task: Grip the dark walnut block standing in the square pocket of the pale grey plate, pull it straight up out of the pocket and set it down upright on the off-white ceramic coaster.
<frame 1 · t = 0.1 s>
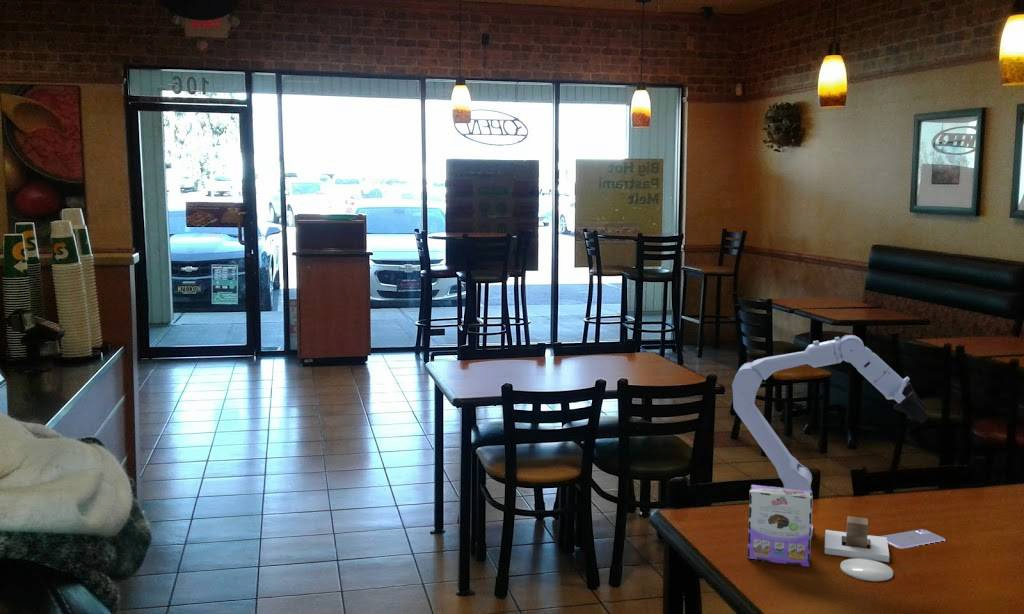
hand: (924, 416, 214), 32 cm above the table, tool tilted 50°, fingers open, 7 cm apart
walnut block: (856, 534, 216), in the pocket plate
mobile phone: (911, 541, 222), on the table
pocket plate: (855, 548, 216), on the table
candy box: (778, 559, 210), on the table
ceramic coaster: (866, 570, 203), on the table
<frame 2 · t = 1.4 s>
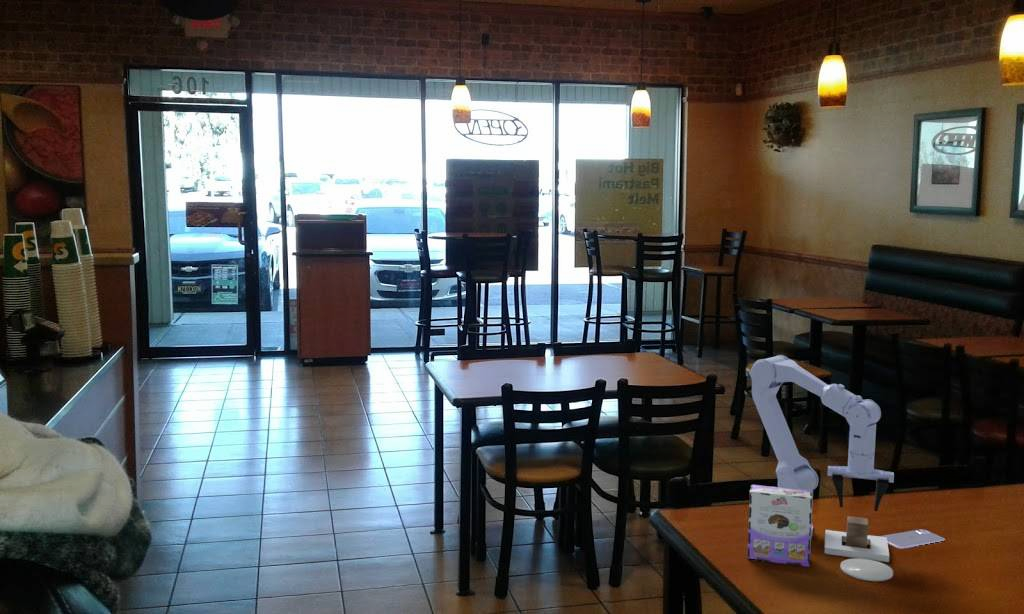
hand: (858, 507, 215), 10 cm above the table, tool pointing down, fingers open, 7 cm apart
nothing on the table moved.
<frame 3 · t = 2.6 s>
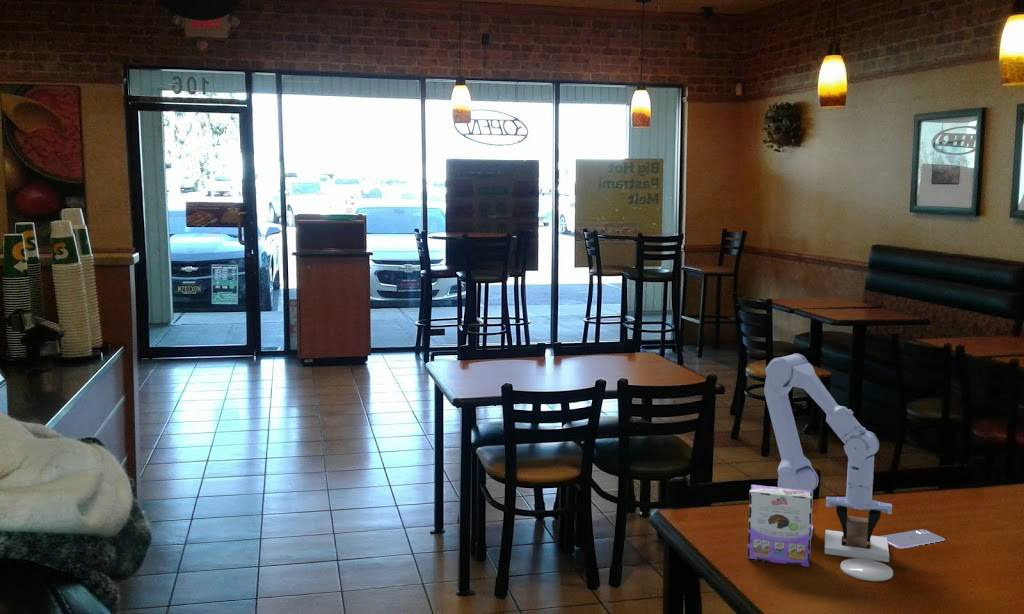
hand: (856, 538, 216), 2 cm above the table, tool pointing down, fingers closed on walnut block, 4 cm apart
walnut block: (856, 534, 216), in the pocket plate, touching gripper
everything else where it was.
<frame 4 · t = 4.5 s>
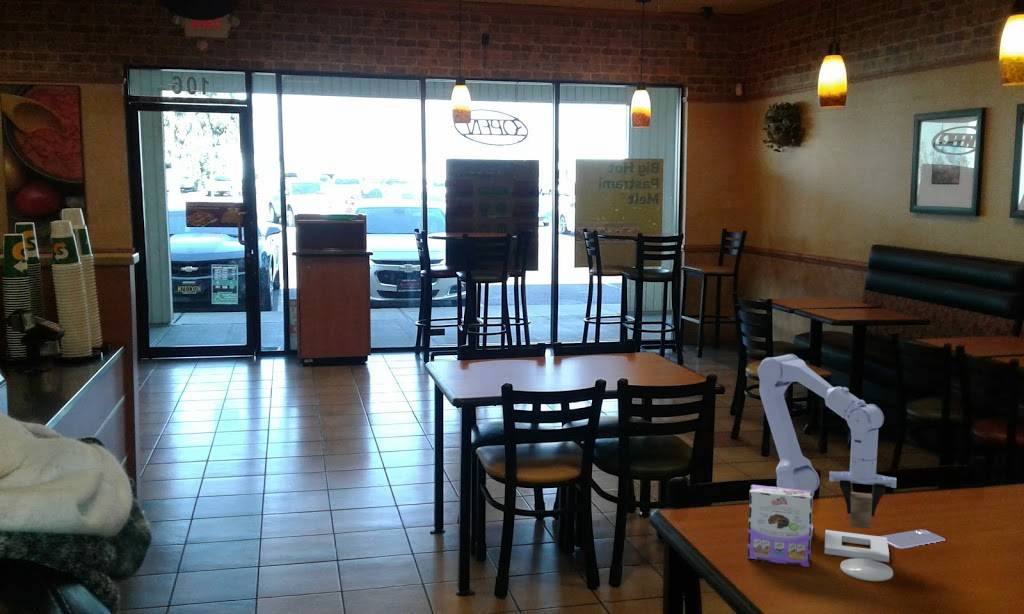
hand: (860, 513, 213), 9 cm above the table, tool pointing down, fingers closed on walnut block, 4 cm apart
walnut block: (860, 510, 213), point 10 cm above the table, touching gripper
everything else where it was.
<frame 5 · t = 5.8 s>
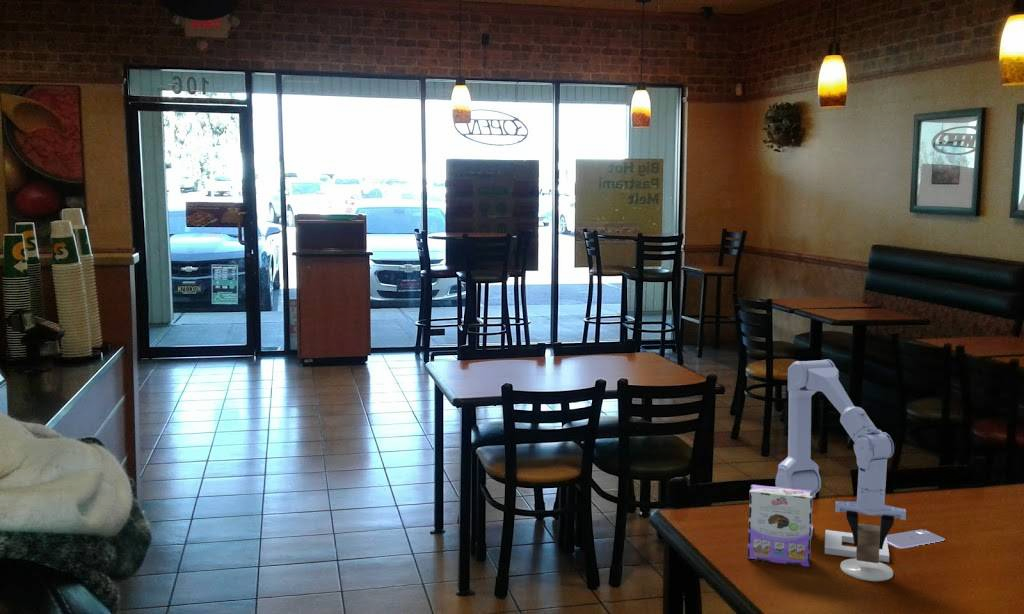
hand: (868, 546, 203), 6 cm above the table, tool pointing down, fingers closed on walnut block, 4 cm apart
walnut block: (868, 543, 203), point 6 cm above the table, touching gripper
everything else where it was.
when the fingers open (4 cm above the table, at t = 6.6 s): walnut block stays where it is, resting on ceramic coaster.
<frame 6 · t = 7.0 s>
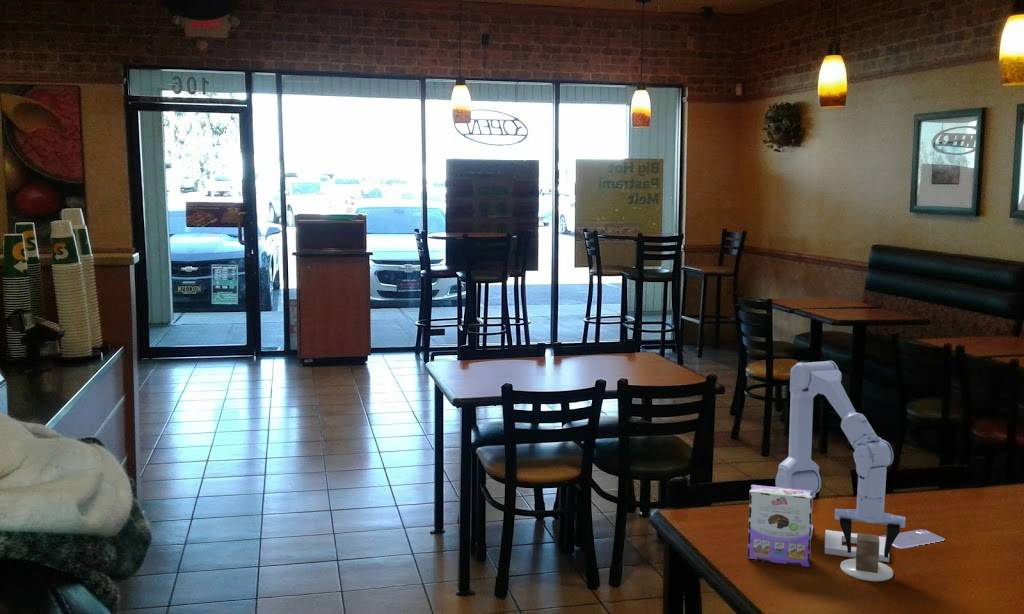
hand: (867, 553, 203), 4 cm above the table, tool pointing down, fingers open, 7 cm apart
walnut block: (867, 552, 203), on the ceramic coaster, point 4 cm above the table
everything else where it was.
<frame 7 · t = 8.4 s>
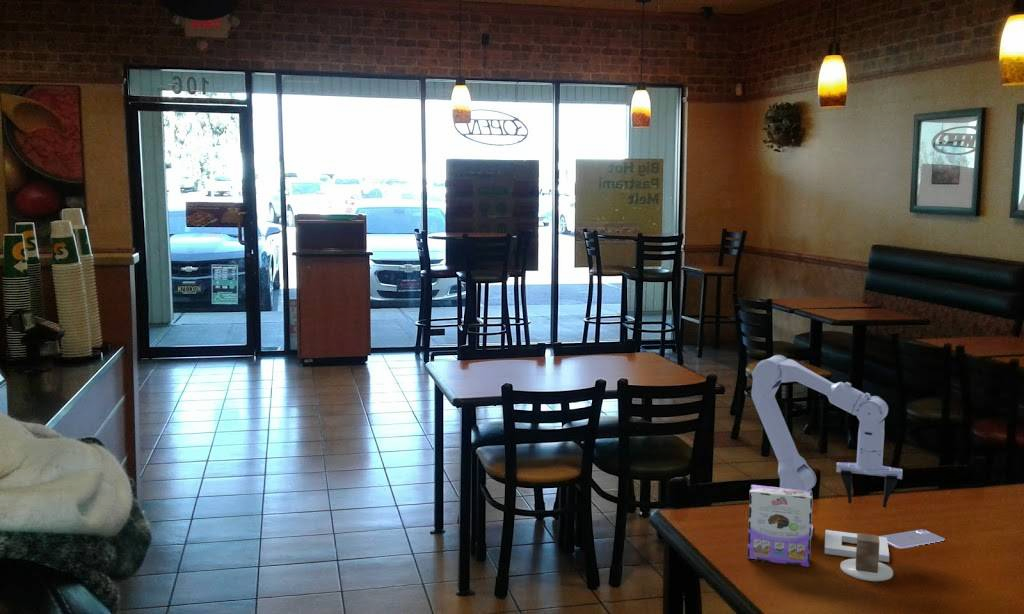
hand: (866, 504, 217), 10 cm above the table, tool pointing down, fingers open, 7 cm apart
nothing on the table moved.
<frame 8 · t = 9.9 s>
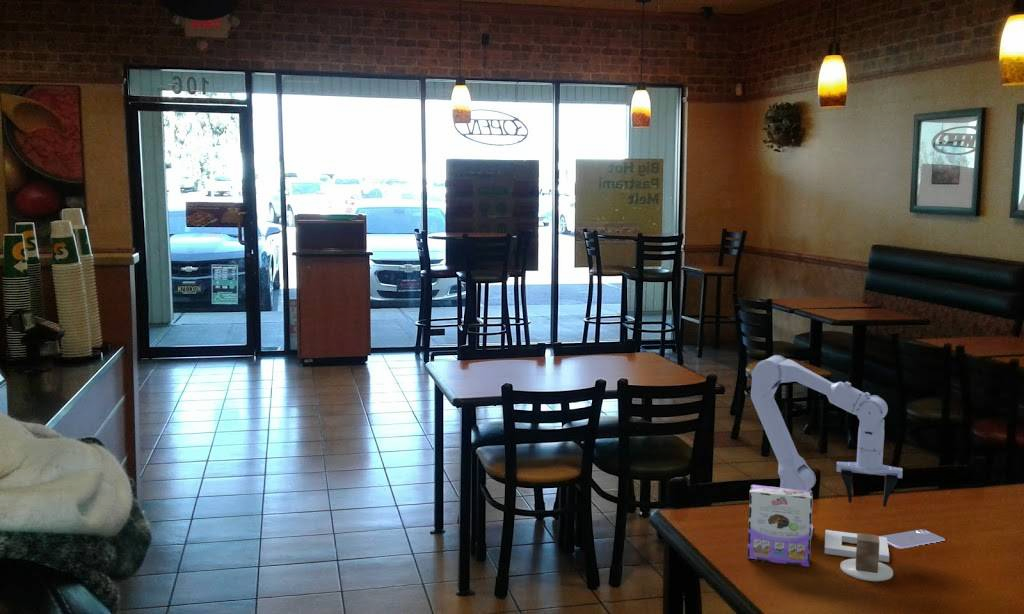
hand: (867, 503, 217), 10 cm above the table, tool pointing down, fingers open, 7 cm apart
nothing on the table moved.
at the end: walnut block 0.3 cm off-centre on the ceramic coaster, point 4.1 cm above the ceramic coaster's base; walnut block tilted 0°; the gripper is holding nothing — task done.
